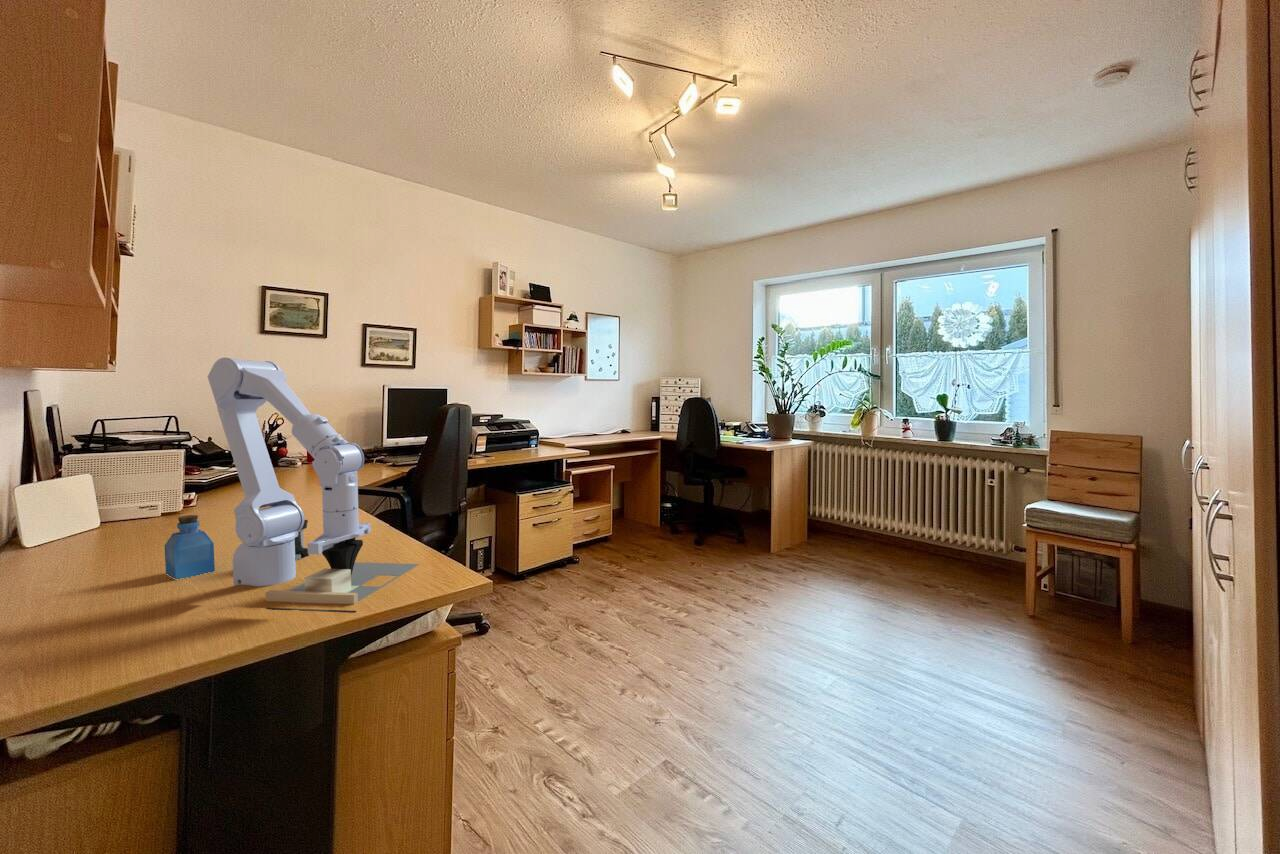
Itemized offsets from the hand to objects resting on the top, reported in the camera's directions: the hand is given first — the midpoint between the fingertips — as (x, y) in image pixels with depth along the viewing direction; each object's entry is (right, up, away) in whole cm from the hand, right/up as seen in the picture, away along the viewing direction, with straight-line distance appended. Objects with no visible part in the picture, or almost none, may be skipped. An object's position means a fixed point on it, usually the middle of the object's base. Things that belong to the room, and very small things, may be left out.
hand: (343, 581), depth 93 cm
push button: (-22, -2, +18) cm, 28 cm away
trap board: (0, -2, +2) cm, 3 cm away
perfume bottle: (-39, -2, +11) cm, 40 cm away
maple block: (0, -1, -4) cm, 4 cm away
